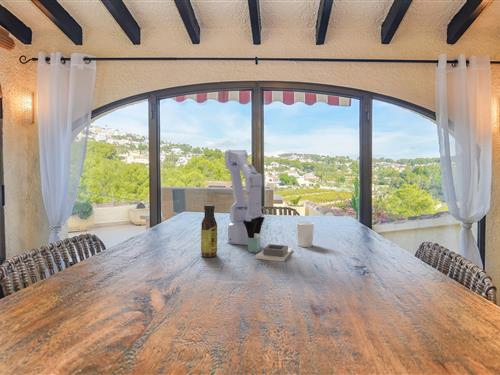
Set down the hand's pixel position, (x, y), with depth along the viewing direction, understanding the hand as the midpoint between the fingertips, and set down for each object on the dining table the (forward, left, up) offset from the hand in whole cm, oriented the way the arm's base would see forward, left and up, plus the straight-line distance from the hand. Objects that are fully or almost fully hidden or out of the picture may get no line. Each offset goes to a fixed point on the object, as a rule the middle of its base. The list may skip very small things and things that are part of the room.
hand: (254, 235), depth 126 cm
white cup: (+18, +17, -7) cm, 26 cm away
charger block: (0, 0, -6) cm, 6 cm away
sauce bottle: (-14, -13, -7) cm, 20 cm away
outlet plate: (+9, -2, -6) cm, 11 cm away
